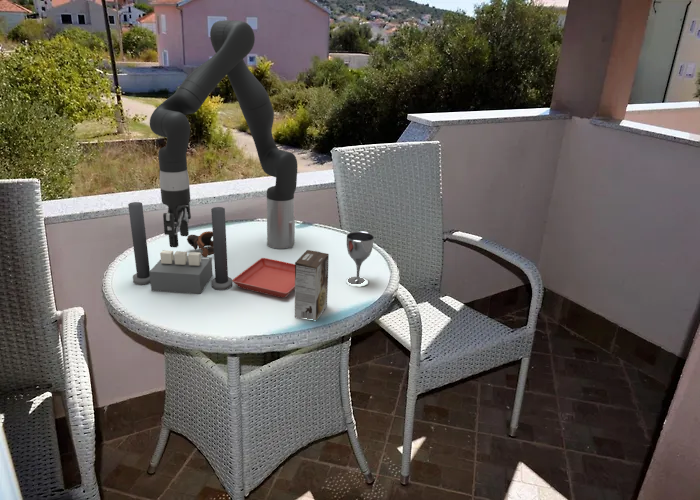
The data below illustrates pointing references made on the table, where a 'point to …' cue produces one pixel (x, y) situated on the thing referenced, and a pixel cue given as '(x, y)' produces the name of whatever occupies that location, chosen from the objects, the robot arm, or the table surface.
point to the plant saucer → (268, 277)
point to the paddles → (180, 258)
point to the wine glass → (359, 251)
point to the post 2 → (220, 250)
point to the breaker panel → (181, 276)
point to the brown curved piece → (202, 243)
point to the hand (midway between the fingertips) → (179, 241)
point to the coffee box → (311, 284)
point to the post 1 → (139, 244)
